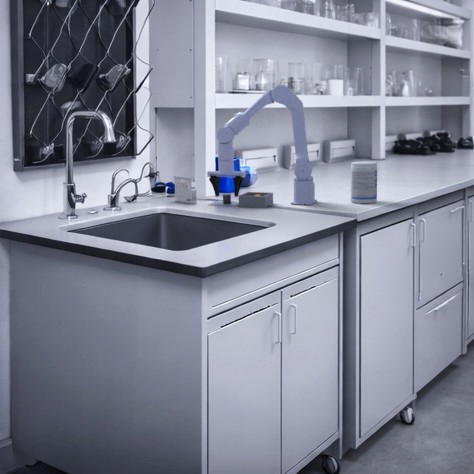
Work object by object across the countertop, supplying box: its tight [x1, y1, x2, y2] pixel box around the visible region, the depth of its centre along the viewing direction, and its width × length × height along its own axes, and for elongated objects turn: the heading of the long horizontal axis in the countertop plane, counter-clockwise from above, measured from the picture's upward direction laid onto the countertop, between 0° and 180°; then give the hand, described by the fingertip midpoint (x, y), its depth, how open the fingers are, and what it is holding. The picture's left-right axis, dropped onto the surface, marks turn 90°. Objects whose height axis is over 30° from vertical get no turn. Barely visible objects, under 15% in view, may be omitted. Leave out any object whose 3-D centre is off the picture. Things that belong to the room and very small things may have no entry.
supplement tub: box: [350, 160, 378, 204], centre depth 249 cm, size 10×10×15 cm
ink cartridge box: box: [173, 175, 197, 205], centre depth 260 cm, size 2×11×10 cm, turn 41°
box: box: [238, 191, 274, 209], centre depth 250 cm, size 10×10×4 cm
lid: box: [208, 193, 239, 207], centre depth 255 cm, size 11×11×4 cm
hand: (226, 196), depth 255 cm, fingers open, 7 cm apart
